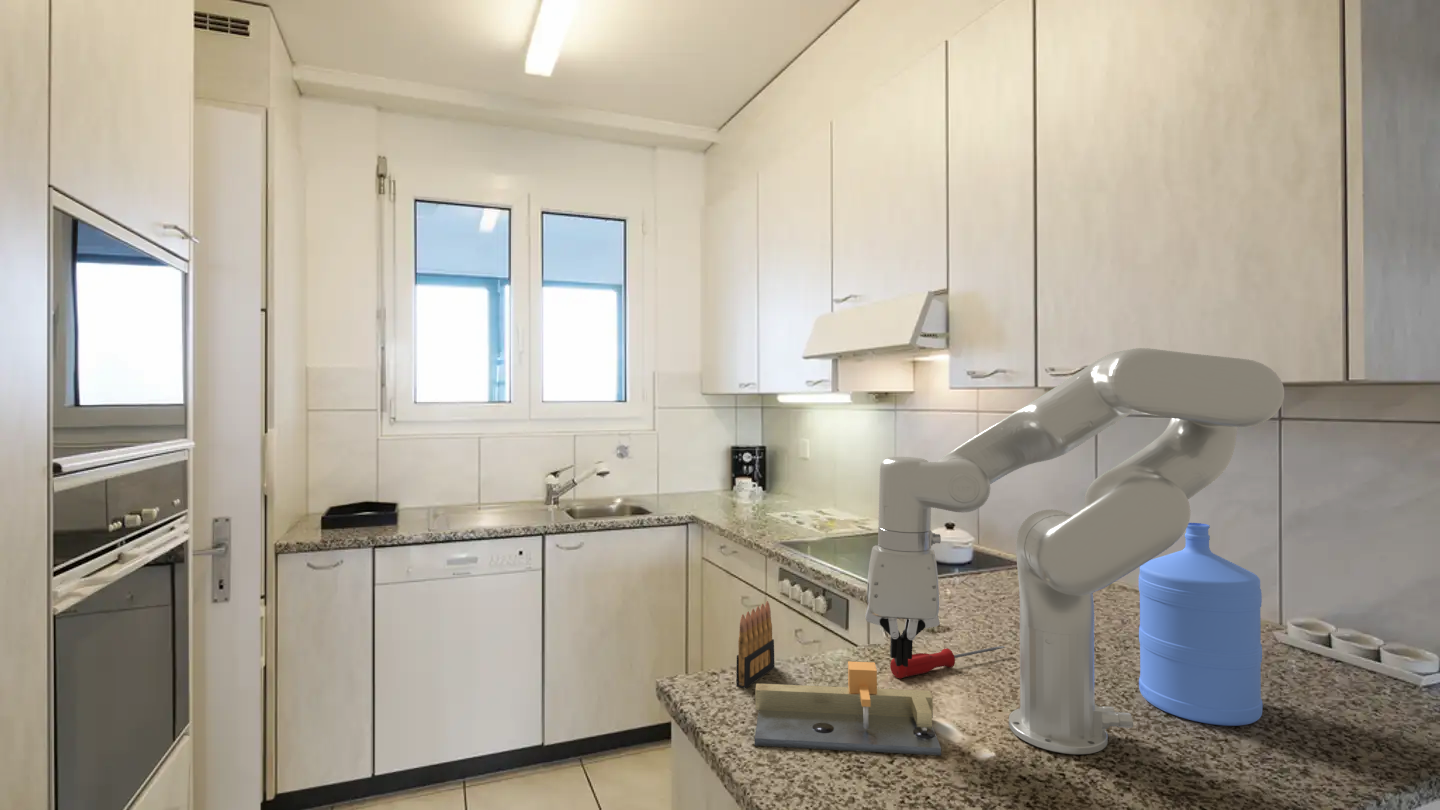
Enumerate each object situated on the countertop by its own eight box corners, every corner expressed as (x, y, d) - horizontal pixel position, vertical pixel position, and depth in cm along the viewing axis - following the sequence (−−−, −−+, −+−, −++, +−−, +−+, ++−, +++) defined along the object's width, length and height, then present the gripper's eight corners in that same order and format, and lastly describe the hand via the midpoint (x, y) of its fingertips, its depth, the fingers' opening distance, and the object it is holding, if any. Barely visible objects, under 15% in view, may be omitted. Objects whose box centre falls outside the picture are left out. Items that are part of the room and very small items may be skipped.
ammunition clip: (765, 665, 124) (765, 598, 124) (774, 667, 123) (774, 600, 123) (736, 686, 115) (735, 614, 115) (745, 688, 114) (744, 616, 114)
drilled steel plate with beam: (926, 709, 105) (926, 683, 105) (944, 755, 92) (944, 725, 92) (757, 701, 109) (757, 676, 109) (750, 745, 95) (750, 716, 95)
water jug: (1283, 735, 96) (1282, 536, 96) (1155, 720, 101) (1154, 531, 101) (1237, 690, 111) (1235, 518, 111) (1127, 679, 116) (1126, 514, 116)
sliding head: (875, 704, 104) (874, 662, 104) (880, 730, 96) (880, 684, 96) (848, 703, 105) (848, 661, 105) (851, 728, 96) (851, 683, 96)
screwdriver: (1011, 659, 126) (1011, 640, 126) (901, 682, 116) (901, 661, 116) (996, 653, 129) (996, 634, 129) (888, 675, 119) (888, 655, 119)
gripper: (950, 537, 105) (947, 657, 105) (851, 533, 107) (848, 650, 107) (961, 548, 97) (958, 676, 97) (854, 543, 99) (851, 669, 99)
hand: (900, 662), depth 102 cm, fingers closed
